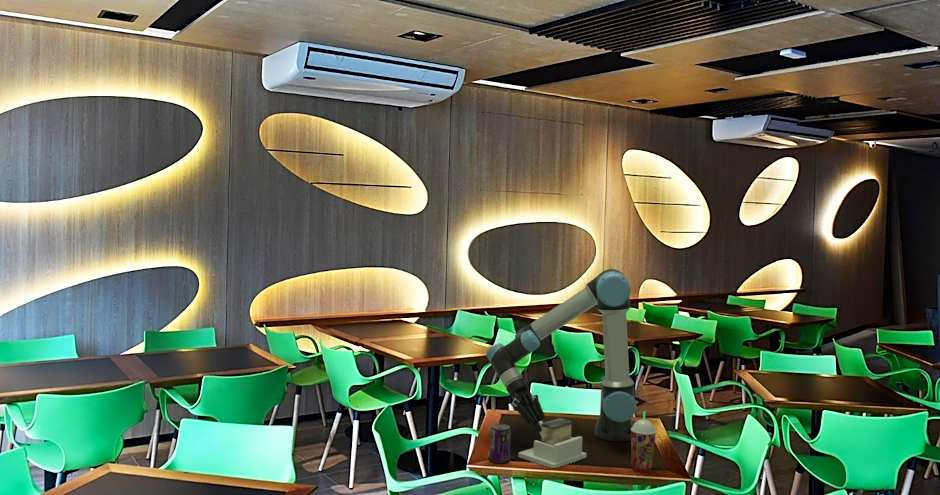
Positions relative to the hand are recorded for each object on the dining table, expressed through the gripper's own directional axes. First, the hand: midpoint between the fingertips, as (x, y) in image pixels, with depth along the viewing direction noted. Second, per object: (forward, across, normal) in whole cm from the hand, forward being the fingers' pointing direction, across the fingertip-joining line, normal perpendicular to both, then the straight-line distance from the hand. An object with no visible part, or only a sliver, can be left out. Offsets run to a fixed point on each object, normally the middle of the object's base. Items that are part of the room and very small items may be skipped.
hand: (547, 438), depth 279 cm
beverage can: (-1, +17, -10) cm, 19 cm away
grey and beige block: (+6, 0, 0) cm, 6 cm away
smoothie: (+25, -14, +17) cm, 33 cm away
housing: (+6, 0, -3) cm, 6 cm away
